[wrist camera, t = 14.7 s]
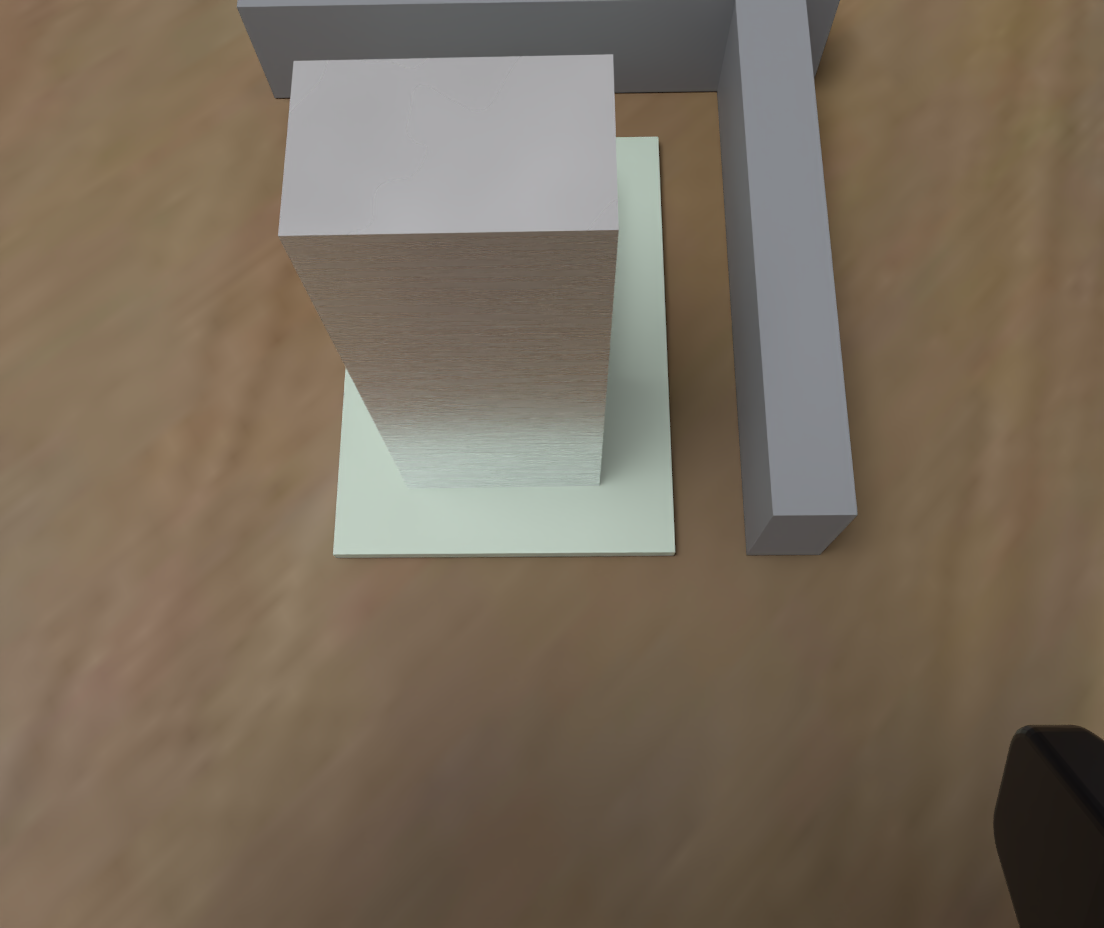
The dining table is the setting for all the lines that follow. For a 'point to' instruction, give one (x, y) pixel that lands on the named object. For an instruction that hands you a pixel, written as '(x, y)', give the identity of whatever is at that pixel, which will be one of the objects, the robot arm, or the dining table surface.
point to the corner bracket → (748, 182)
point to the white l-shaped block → (463, 255)
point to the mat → (561, 511)
